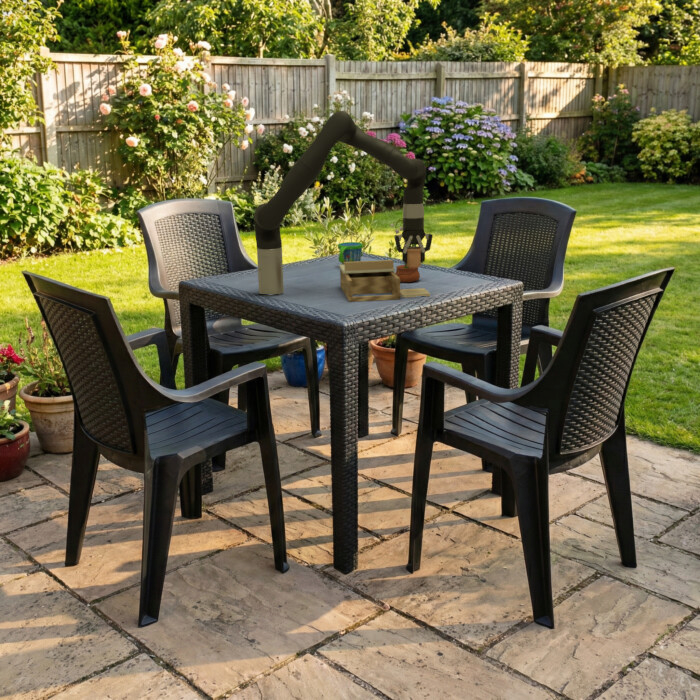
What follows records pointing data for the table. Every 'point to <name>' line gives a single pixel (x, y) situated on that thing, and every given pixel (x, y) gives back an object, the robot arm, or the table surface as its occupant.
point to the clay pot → (414, 256)
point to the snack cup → (350, 252)
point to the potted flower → (402, 270)
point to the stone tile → (414, 292)
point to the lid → (367, 266)
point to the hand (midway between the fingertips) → (413, 262)
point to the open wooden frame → (370, 285)
